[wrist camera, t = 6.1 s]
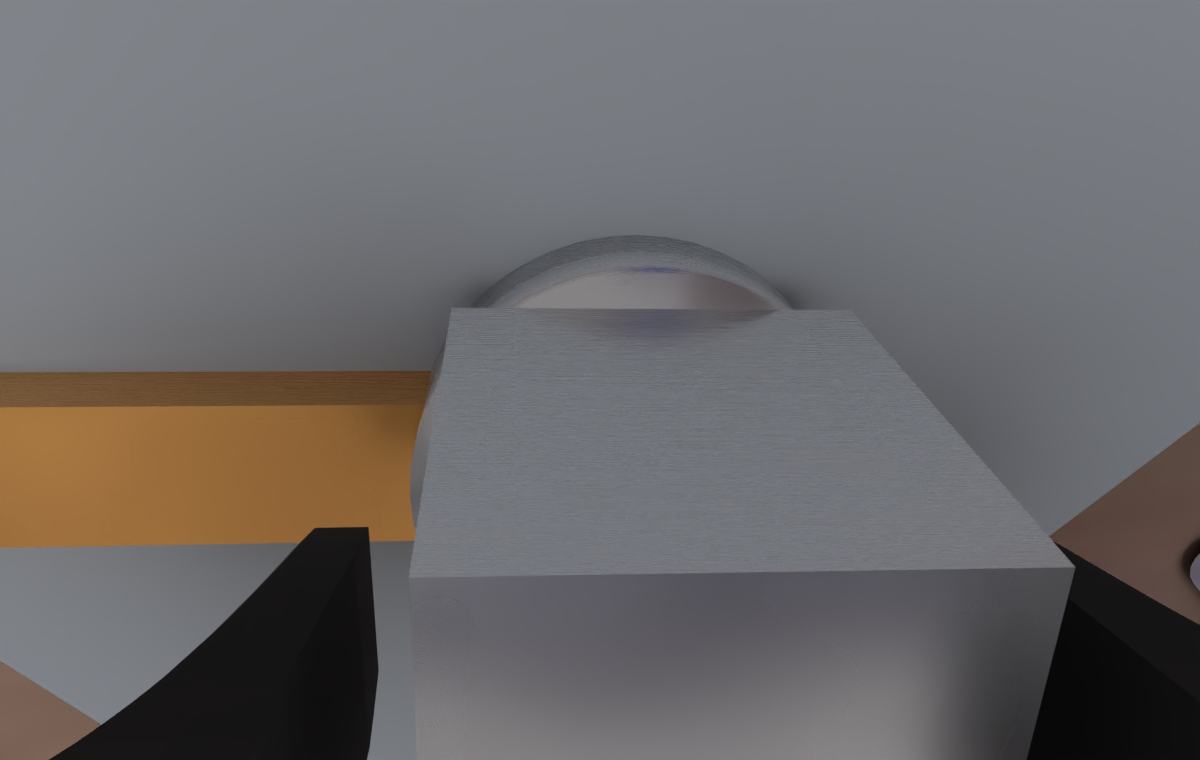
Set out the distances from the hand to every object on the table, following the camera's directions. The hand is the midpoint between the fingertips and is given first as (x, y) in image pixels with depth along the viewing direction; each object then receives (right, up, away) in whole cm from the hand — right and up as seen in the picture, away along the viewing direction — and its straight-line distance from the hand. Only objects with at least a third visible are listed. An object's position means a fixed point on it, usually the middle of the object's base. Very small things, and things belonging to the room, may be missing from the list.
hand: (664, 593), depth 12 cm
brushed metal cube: (0, +1, +2) cm, 2 cm away
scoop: (-4, +2, +4) cm, 6 cm away
